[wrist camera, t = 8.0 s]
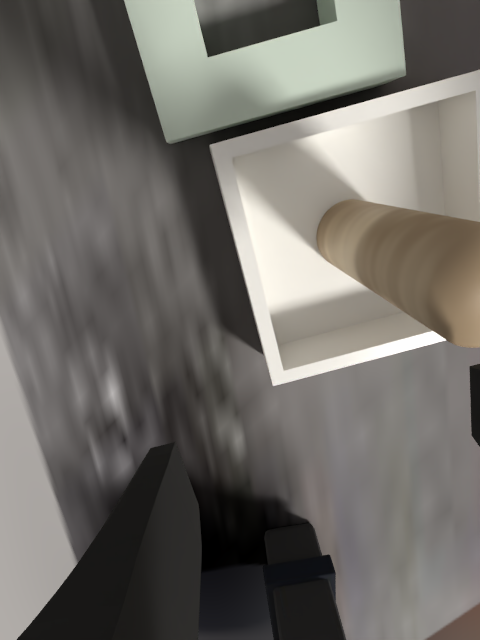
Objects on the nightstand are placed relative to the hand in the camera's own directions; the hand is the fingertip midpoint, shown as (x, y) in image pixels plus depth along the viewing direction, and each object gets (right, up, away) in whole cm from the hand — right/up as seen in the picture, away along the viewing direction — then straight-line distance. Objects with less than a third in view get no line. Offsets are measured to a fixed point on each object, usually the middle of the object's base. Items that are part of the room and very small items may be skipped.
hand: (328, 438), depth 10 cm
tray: (+3, +7, +9) cm, 12 cm away
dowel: (+3, +7, +8) cm, 11 cm away
